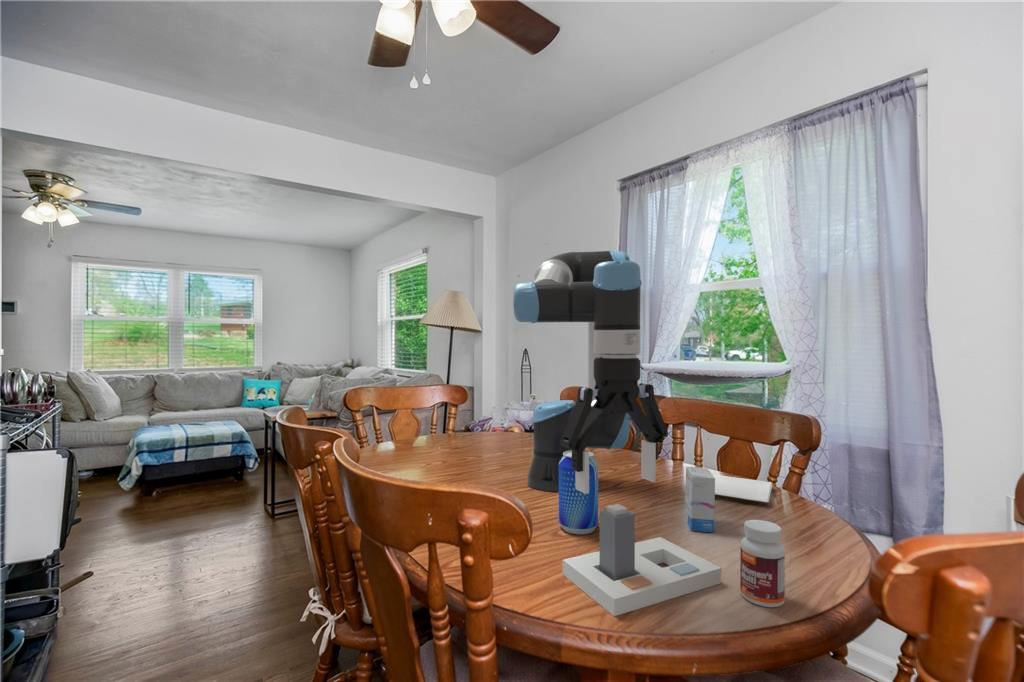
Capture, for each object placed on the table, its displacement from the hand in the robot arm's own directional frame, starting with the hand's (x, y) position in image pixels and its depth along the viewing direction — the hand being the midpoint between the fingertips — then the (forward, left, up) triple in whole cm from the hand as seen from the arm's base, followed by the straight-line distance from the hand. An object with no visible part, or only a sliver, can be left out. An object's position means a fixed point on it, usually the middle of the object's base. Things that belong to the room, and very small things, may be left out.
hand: (616, 485), depth 78 cm
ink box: (-13, +33, -17) cm, 39 cm away
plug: (0, 0, -16) cm, 16 cm away
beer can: (-23, +8, -17) cm, 29 cm away
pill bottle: (+13, +18, -17) cm, 28 cm away
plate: (-26, +59, -17) cm, 66 cm away
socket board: (0, +5, -16) cm, 17 cm away
